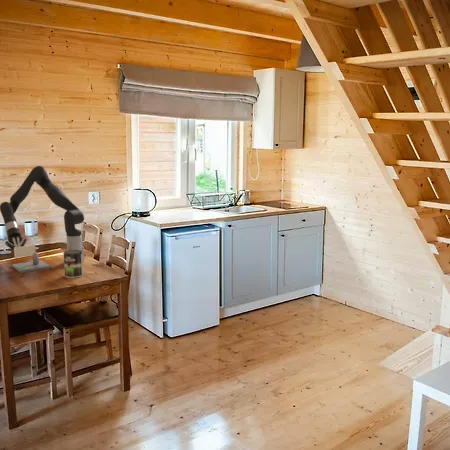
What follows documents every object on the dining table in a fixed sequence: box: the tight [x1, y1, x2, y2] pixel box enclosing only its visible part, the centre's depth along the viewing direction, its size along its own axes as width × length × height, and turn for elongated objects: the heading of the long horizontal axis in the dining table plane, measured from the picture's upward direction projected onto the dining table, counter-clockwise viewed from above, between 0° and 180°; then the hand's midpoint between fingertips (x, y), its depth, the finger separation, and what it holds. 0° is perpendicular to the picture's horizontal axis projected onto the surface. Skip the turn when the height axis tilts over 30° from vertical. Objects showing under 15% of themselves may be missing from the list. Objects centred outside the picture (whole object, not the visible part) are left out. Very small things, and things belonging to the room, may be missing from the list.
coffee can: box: [63, 250, 84, 279], centre depth 292 cm, size 10×10×14 cm
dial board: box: [11, 259, 52, 274], centre depth 311 cm, size 18×18×2 cm
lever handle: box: [13, 244, 39, 264], centre depth 309 cm, size 14×3×12 cm, turn 129°
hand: (19, 253), depth 308 cm, fingers closed
